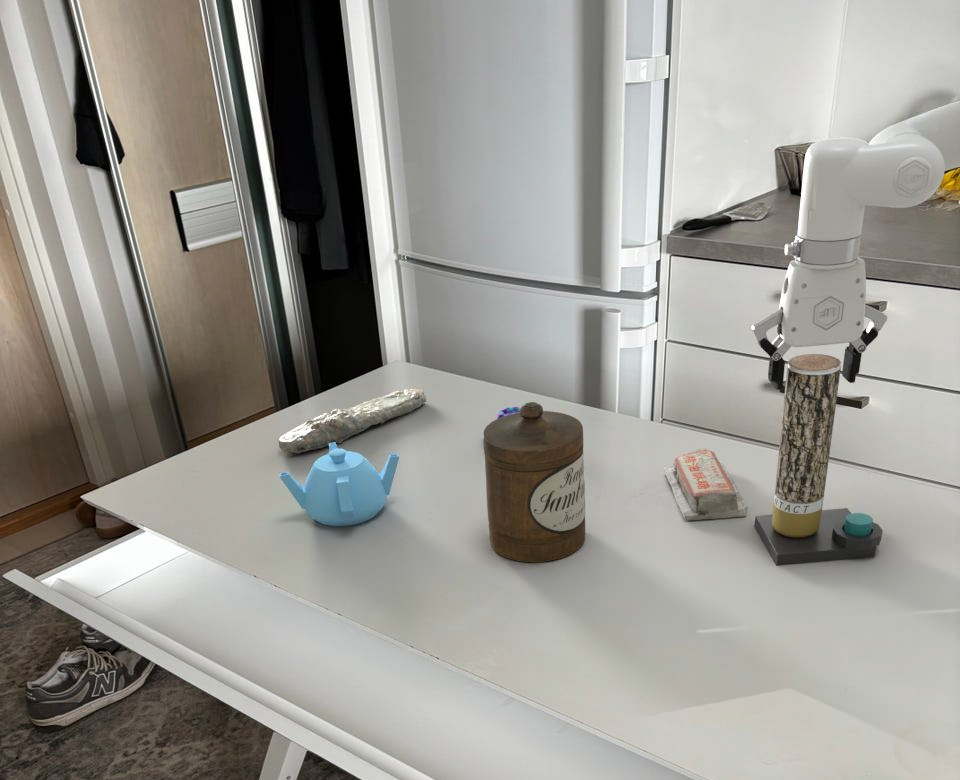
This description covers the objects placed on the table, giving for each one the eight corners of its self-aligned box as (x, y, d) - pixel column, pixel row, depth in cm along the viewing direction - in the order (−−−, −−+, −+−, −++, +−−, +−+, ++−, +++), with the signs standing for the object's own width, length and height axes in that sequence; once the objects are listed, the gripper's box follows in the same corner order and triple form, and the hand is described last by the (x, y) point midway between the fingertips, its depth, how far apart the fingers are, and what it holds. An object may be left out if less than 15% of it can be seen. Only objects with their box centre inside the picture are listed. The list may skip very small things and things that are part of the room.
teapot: (282, 521, 164) (269, 461, 158) (339, 484, 174) (329, 427, 168) (353, 539, 157) (342, 477, 150) (408, 500, 167) (400, 441, 161)
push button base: (853, 518, 149) (857, 497, 147) (885, 559, 139) (889, 538, 137) (754, 526, 150) (755, 506, 148) (777, 568, 139) (780, 547, 137)
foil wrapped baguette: (439, 412, 202) (409, 404, 209) (437, 386, 200) (406, 379, 206) (298, 460, 182) (269, 450, 189) (293, 433, 180) (264, 423, 186)
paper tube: (788, 513, 148) (806, 350, 134) (828, 527, 144) (851, 360, 130) (762, 530, 145) (777, 364, 131) (802, 544, 140) (823, 374, 126)
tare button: (865, 524, 141) (867, 511, 140) (874, 536, 138) (876, 523, 137) (840, 526, 141) (842, 513, 140) (849, 538, 138) (851, 525, 137)
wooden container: (560, 571, 143) (555, 429, 131) (473, 552, 150) (460, 416, 137) (601, 526, 154) (599, 391, 141) (517, 510, 160) (509, 380, 148)
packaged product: (750, 489, 149) (685, 495, 150) (748, 518, 152) (684, 523, 152) (724, 442, 164) (664, 447, 164) (722, 469, 167) (663, 474, 167)
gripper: (766, 263, 119) (755, 398, 129) (908, 250, 119) (887, 386, 129) (750, 249, 125) (741, 379, 135) (885, 236, 125) (866, 367, 135)
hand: (812, 382), depth 132 cm, fingers open, 9 cm apart
